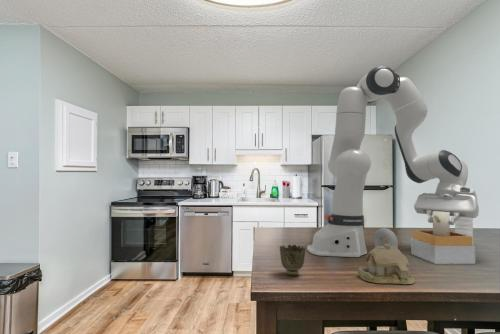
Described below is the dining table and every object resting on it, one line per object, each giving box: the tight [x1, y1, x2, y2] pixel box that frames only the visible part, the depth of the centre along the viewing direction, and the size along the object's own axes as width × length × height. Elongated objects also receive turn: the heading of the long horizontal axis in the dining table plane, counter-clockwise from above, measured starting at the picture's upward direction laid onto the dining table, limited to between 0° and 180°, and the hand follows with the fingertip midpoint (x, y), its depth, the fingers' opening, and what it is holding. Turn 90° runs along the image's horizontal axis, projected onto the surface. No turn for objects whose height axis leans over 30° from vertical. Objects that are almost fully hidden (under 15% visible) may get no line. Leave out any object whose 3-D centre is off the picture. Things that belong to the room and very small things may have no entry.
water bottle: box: [454, 217, 474, 243], centre depth 138 cm, size 9×6×25 cm
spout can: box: [432, 211, 451, 236], centre depth 112 cm, size 9×5×8 cm, turn 133°
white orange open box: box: [410, 229, 476, 265], centre depth 113 cm, size 17×14×9 cm
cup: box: [279, 243, 307, 277], centre depth 92 cm, size 8×7×8 cm
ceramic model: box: [357, 242, 416, 285], centre depth 89 cm, size 14×11×10 cm
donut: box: [372, 227, 399, 248], centre depth 117 cm, size 10×4×10 cm, turn 27°
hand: (440, 222), depth 113 cm, fingers closed on spout can, 5 cm apart
